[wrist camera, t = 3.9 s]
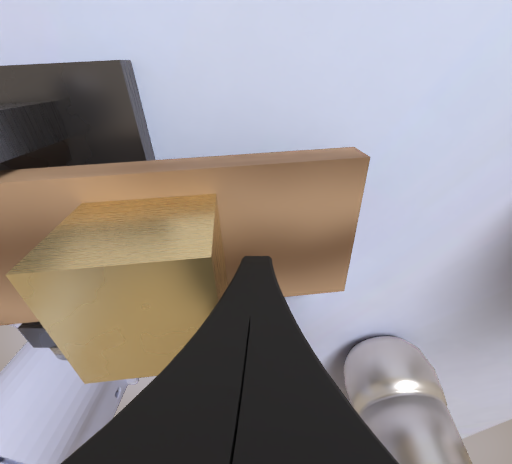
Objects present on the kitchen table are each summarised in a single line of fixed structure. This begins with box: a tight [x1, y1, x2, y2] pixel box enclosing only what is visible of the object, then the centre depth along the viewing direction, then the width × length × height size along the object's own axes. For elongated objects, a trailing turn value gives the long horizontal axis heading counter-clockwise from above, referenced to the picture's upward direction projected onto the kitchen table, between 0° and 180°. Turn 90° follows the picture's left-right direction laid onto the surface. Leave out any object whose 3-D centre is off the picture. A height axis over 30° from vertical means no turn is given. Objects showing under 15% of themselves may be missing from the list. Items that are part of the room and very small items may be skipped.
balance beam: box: [0, 147, 370, 325], centre depth 13 cm, size 7×30×4 cm, turn 92°
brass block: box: [6, 194, 228, 384], centre depth 10 cm, size 5×5×4 cm
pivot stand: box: [0, 60, 155, 360], centre depth 13 cm, size 14×10×6 cm
